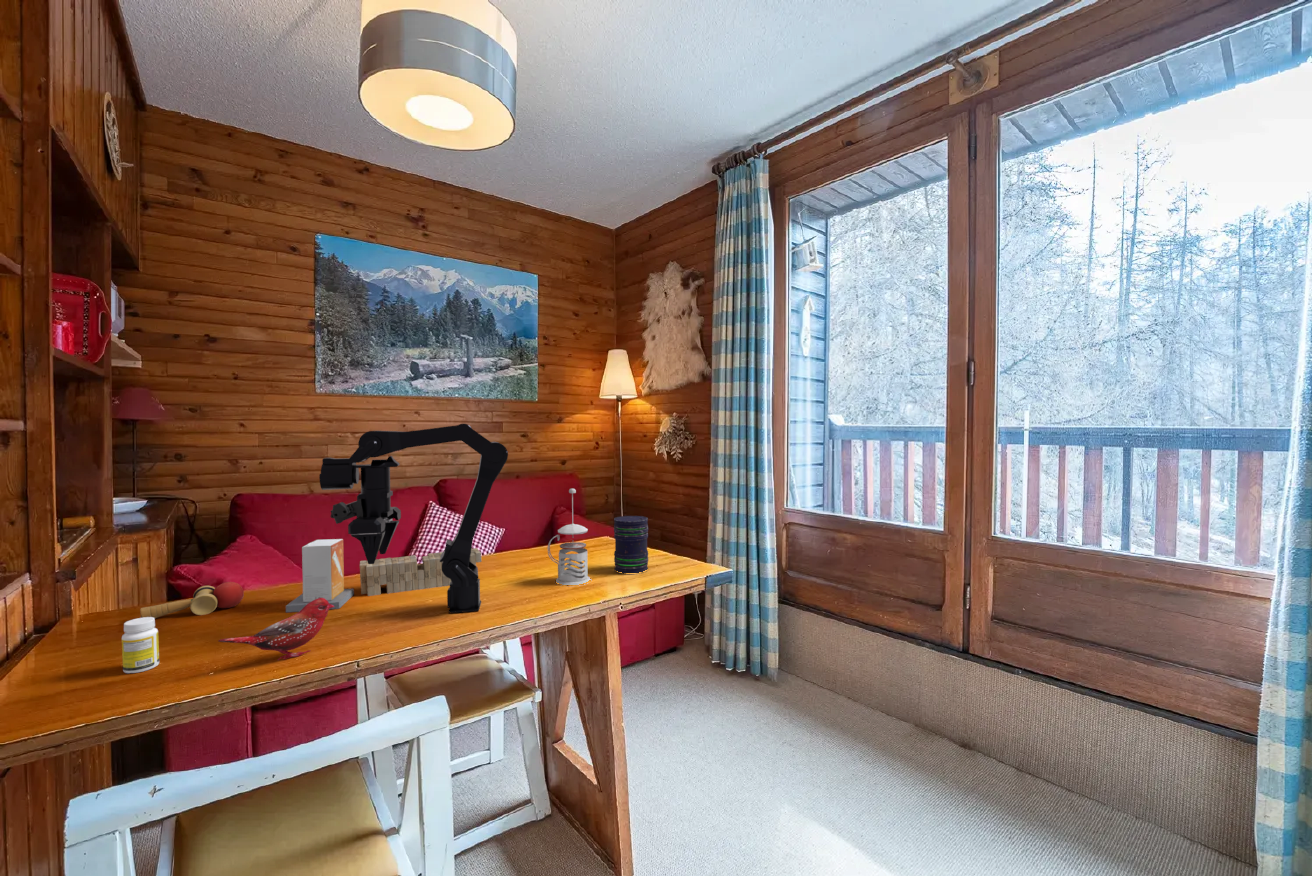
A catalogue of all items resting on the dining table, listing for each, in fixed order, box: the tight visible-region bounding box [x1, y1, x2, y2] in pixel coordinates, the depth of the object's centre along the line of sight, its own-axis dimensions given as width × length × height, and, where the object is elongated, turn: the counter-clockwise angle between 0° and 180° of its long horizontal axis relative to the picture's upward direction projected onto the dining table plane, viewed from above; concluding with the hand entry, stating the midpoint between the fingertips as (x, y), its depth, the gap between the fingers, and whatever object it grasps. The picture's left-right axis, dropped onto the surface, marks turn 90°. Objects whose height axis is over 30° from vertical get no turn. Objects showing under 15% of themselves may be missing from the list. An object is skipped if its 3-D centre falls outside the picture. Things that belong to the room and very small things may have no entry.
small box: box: [301, 538, 345, 602], centre depth 133 cm, size 8×6×13 cm
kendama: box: [139, 581, 245, 619], centre depth 127 cm, size 8×6×18 cm
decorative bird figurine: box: [217, 598, 334, 661], centre depth 101 cm, size 3×18×10 cm, turn 134°
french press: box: [547, 488, 592, 586], centre depth 151 cm, size 10×12×25 cm
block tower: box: [359, 547, 482, 597], centre depth 148 cm, size 8×8×29 cm
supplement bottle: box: [121, 617, 160, 674], centre depth 98 cm, size 5×5×8 cm
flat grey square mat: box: [285, 588, 355, 613], centre depth 133 cm, size 11×11×2 cm
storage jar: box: [613, 515, 649, 573], centre depth 161 cm, size 10×10×15 cm
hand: (377, 558), depth 123 cm, fingers open, 9 cm apart
